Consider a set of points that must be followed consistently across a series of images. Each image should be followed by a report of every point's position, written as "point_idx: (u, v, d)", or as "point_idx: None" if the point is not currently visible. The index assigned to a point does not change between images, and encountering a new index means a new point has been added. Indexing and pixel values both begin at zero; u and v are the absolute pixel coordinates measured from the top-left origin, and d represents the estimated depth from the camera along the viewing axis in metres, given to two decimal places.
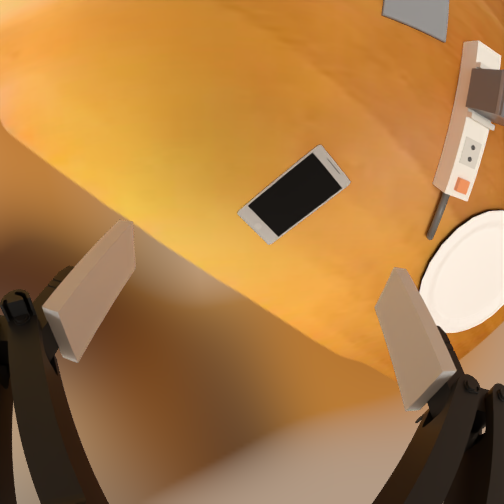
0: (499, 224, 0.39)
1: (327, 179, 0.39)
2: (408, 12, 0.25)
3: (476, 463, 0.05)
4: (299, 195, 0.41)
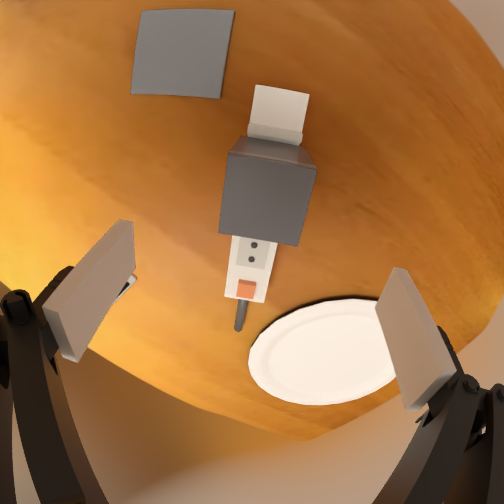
0: (351, 313, 0.40)
1: None
2: (162, 76, 0.26)
3: (476, 463, 0.05)
4: None
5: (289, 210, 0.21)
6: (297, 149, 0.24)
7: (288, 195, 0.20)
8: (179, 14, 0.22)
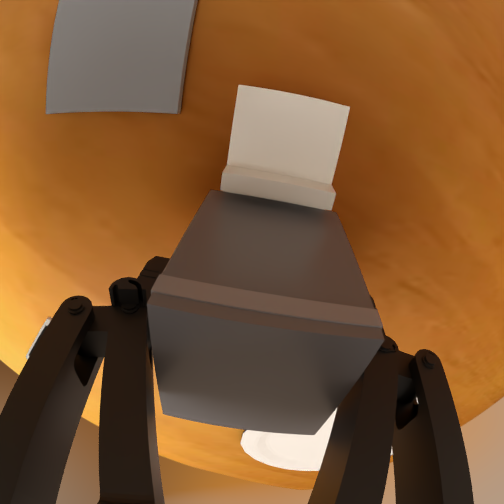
0: None
1: None
2: (86, 81, 0.14)
3: (418, 442, 0.07)
4: None
5: (305, 401, 0.09)
6: (324, 227, 0.12)
7: (305, 383, 0.08)
8: None
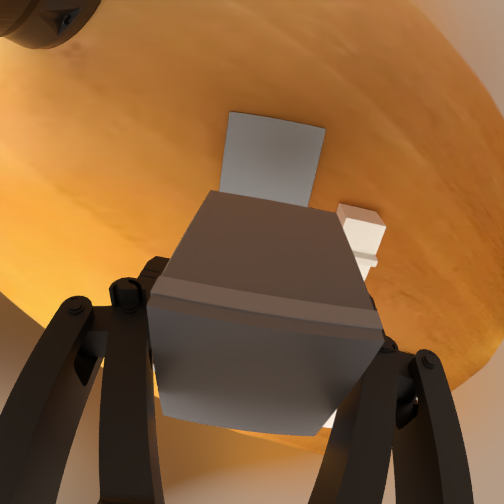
0: None
1: None
2: (252, 187, 0.32)
3: (417, 442, 0.07)
4: None
5: (304, 403, 0.09)
6: (324, 228, 0.12)
7: (305, 384, 0.08)
8: (271, 124, 0.28)
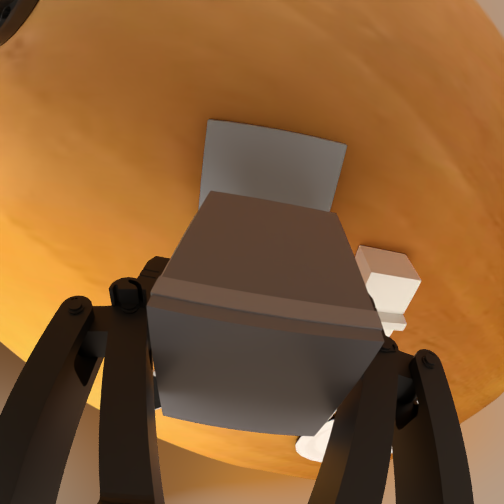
0: None
1: None
2: None
3: (418, 442, 0.07)
4: None
5: (304, 403, 0.08)
6: (324, 228, 0.12)
7: (305, 385, 0.08)
8: (268, 138, 0.20)
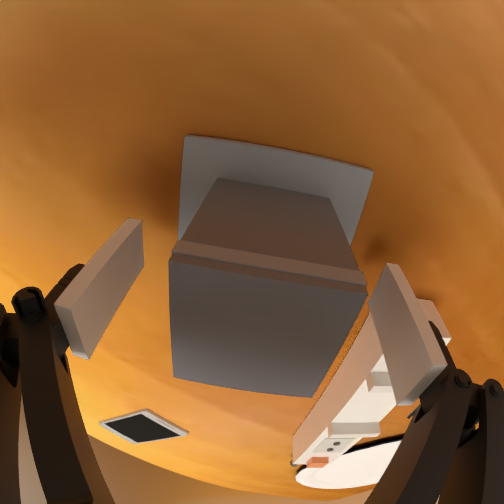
0: None
1: (163, 429, 0.33)
2: None
3: (470, 460, 0.06)
4: (142, 430, 0.34)
5: (302, 357, 0.10)
6: (318, 209, 0.14)
7: (302, 337, 0.10)
8: (267, 162, 0.15)
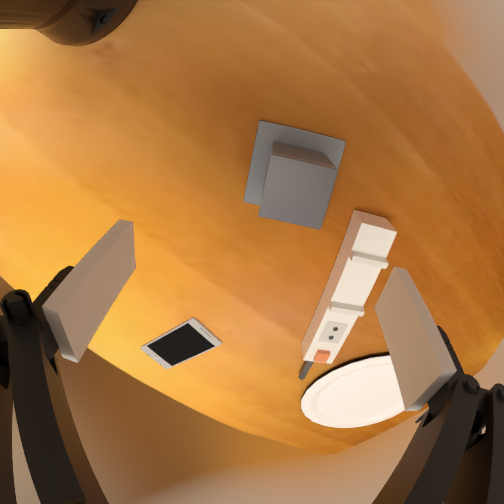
0: (387, 364, 0.48)
1: (202, 340, 0.49)
2: None
3: (476, 463, 0.05)
4: (182, 346, 0.50)
5: (315, 200, 0.26)
6: (319, 154, 0.30)
7: (315, 188, 0.26)
8: (297, 135, 0.31)
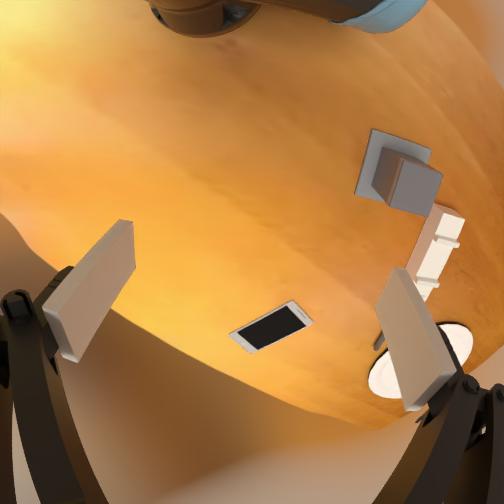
0: None
1: (295, 321, 0.54)
2: None
3: (476, 463, 0.05)
4: (274, 329, 0.55)
5: (427, 195, 0.31)
6: (418, 159, 0.35)
7: (428, 187, 0.31)
8: (399, 142, 0.36)
